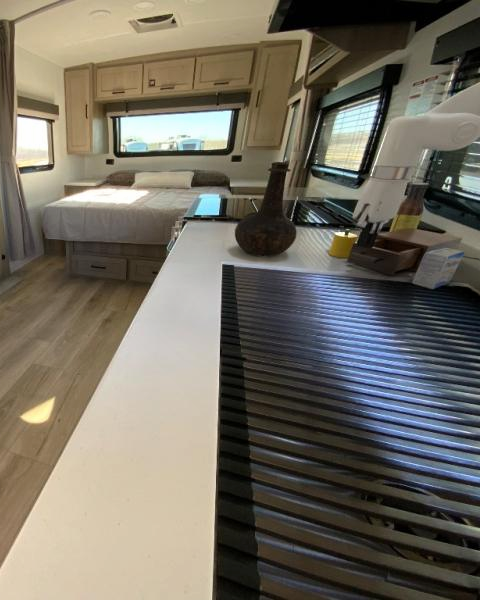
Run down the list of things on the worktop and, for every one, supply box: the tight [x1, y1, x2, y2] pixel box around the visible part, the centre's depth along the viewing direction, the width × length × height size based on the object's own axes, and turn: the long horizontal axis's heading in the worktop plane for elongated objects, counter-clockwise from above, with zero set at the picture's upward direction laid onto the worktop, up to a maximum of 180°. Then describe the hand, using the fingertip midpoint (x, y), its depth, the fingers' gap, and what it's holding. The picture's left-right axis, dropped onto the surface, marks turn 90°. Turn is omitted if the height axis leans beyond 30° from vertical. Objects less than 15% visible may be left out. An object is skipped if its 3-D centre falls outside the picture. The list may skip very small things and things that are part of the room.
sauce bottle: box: [388, 182, 429, 232], centre depth 107 cm, size 7×6×20 cm
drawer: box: [346, 239, 424, 276], centre depth 93 cm, size 19×11×6 cm, turn 111°
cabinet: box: [376, 228, 463, 273], centre depth 97 cm, size 16×13×8 cm
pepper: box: [328, 228, 358, 259], centre depth 104 cm, size 6×6×8 cm
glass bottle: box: [234, 161, 298, 257], centre depth 104 cm, size 18×18×28 cm
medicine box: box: [411, 248, 466, 290], centre depth 83 cm, size 8×4×9 cm, turn 114°
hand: (364, 246), depth 88 cm, fingers closed
